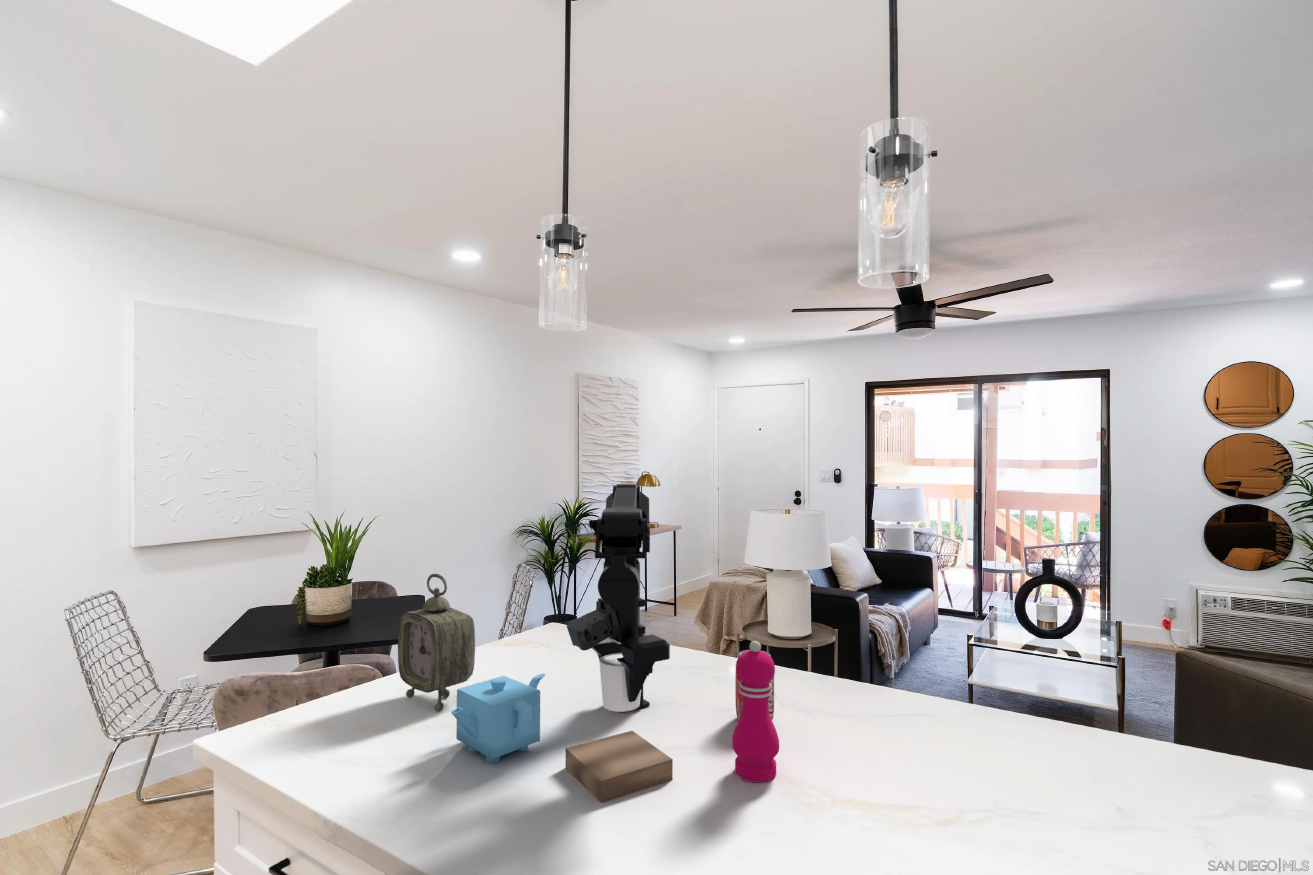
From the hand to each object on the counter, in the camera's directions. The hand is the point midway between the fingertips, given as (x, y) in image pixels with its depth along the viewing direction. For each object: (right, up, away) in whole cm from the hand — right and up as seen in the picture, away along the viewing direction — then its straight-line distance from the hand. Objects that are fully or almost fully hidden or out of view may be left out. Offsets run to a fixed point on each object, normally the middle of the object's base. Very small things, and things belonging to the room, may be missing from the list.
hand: (621, 694), depth 99 cm
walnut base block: (0, -12, -1) cm, 12 cm away
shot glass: (0, -2, 0) cm, 2 cm away
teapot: (-20, -12, +8) cm, 25 cm away
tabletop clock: (-38, -13, +29) cm, 49 cm away
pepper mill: (+21, -12, 0) cm, 24 cm away
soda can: (+24, -13, +19) cm, 33 cm away
